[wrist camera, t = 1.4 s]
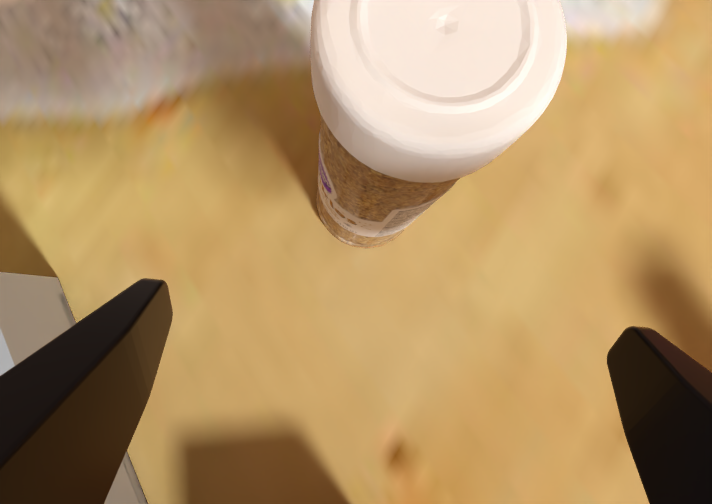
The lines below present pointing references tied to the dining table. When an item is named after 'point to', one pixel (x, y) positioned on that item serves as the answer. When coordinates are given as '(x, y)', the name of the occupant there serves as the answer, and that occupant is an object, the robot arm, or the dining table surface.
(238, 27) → the dining table surface
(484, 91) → the sprinkles bottle
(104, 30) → the dining table surface
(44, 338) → the tray
